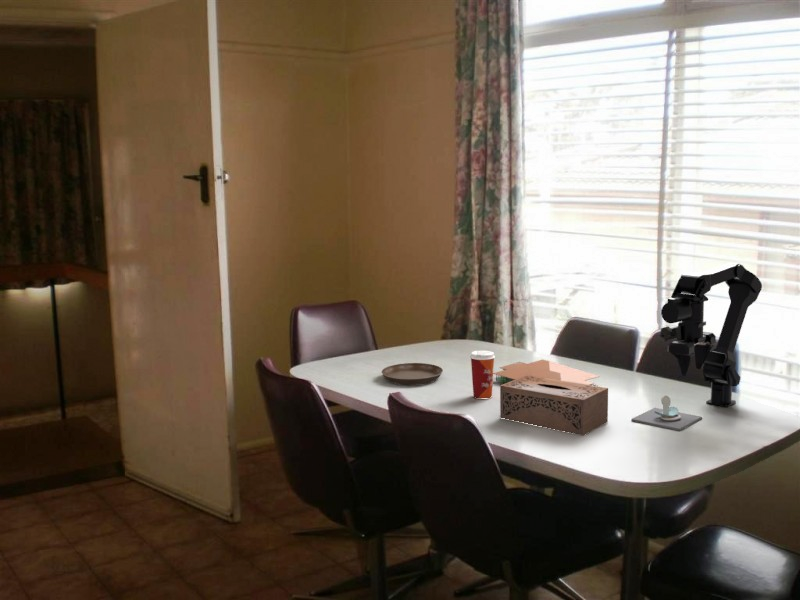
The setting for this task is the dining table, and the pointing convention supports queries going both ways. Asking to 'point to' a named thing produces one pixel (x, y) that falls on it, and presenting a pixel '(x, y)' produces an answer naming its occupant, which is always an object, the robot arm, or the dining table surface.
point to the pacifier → (666, 414)
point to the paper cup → (482, 373)
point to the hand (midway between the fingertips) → (691, 372)
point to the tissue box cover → (554, 404)
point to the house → (545, 372)
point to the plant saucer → (412, 373)
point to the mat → (656, 420)
